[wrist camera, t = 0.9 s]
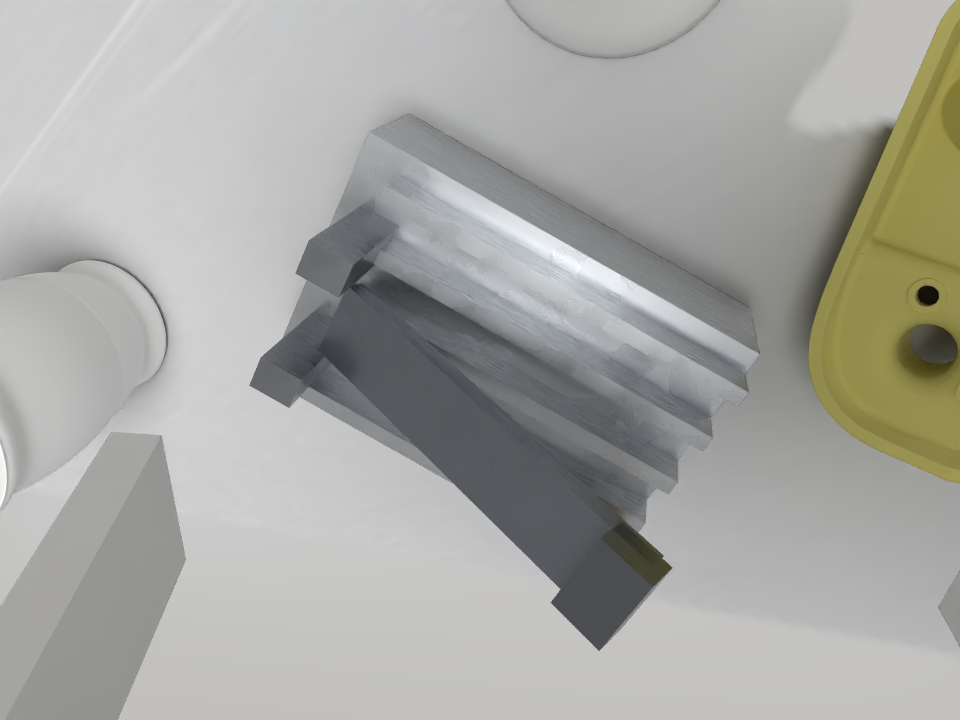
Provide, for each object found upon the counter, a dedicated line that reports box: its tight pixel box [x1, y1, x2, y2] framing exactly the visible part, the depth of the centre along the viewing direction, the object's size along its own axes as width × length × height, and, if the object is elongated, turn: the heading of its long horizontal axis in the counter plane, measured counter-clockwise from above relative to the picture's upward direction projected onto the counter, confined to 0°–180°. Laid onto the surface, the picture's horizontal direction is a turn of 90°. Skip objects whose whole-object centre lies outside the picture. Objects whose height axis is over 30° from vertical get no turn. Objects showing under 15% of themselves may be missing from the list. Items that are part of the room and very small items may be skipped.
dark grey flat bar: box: [319, 284, 672, 651], centre depth 32 cm, size 18×4×2 cm, turn 63°
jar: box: [0, 260, 166, 512], centre depth 44 cm, size 11×10×15 cm
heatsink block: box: [250, 114, 760, 532], centre depth 39 cm, size 20×14×12 cm
